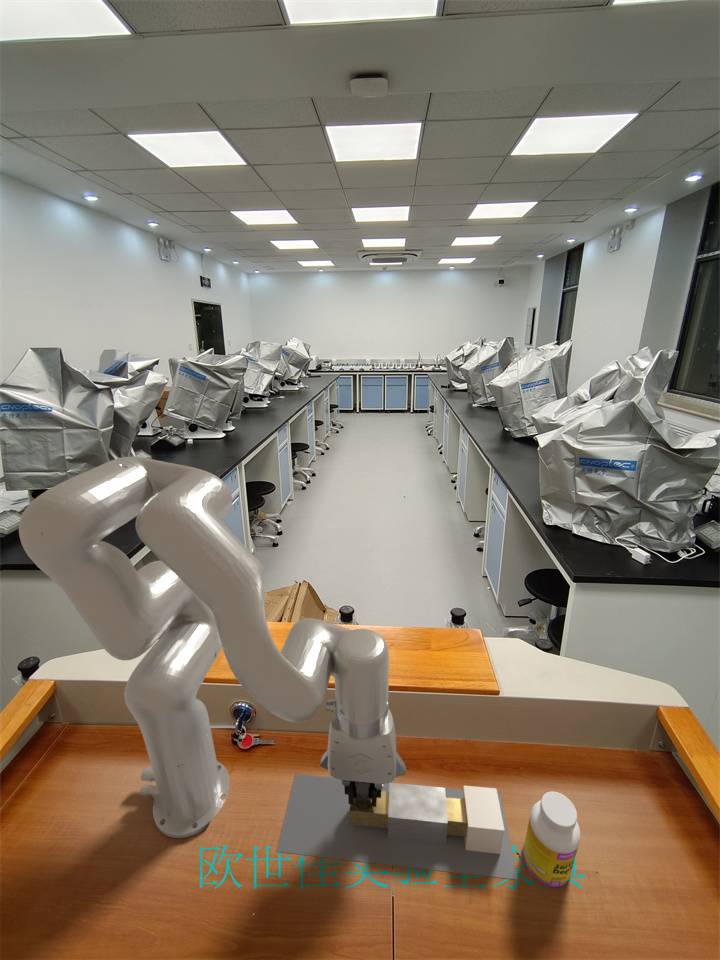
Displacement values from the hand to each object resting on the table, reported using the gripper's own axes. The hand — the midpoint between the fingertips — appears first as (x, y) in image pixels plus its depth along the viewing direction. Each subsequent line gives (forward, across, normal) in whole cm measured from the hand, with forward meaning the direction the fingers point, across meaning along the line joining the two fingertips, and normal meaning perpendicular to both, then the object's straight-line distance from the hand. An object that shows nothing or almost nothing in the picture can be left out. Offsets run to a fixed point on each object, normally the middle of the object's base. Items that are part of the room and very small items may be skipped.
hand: (363, 795), depth 68 cm
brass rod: (+6, +9, 0) cm, 11 cm away
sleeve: (+6, +9, 0) cm, 10 cm away
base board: (+7, +5, 0) cm, 8 cm away
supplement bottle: (+7, +28, -3) cm, 29 cm away
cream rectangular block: (+6, +19, 0) cm, 19 cm away
